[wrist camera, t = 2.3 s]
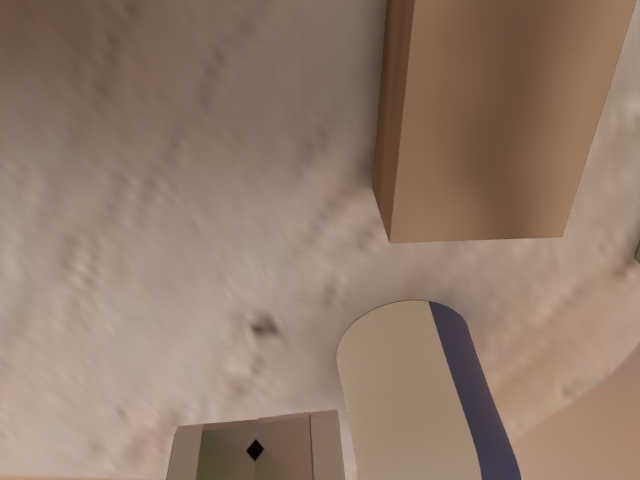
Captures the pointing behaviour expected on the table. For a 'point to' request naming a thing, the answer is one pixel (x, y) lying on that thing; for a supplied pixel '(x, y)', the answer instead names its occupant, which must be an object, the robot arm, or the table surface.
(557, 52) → the walnut block
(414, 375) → the water bottle
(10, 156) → the table surface
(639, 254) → the green board
